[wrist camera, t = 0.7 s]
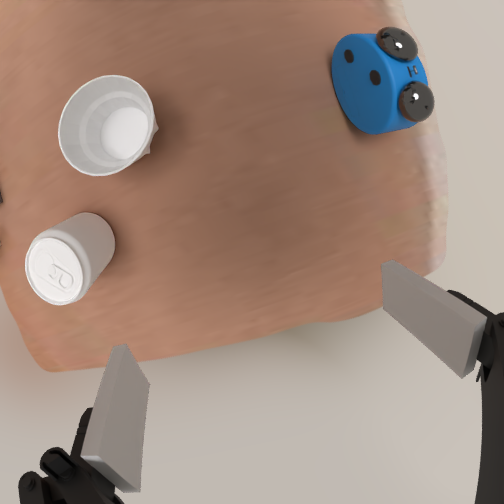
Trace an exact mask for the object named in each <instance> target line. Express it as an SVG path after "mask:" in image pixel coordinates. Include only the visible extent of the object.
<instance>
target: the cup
mask: <svg viewBox="0 0 504 504" xmlns="http://www.w3.org/2000/svg"><path fill="white" fill-rule="evenodd" d="M158 129H159V128H158V126H157V123H156V119H155V115H154V110H153V106H152V102H151V100H150V98H149V96H148V94H147V92H146V91H145V90H144V89H143V87H142V86H141V85H140V84H139V83H137V82H136V81H134V80H132V79H130V78H128V77H124V76H119V75H107V76H101V77H99V78H96V79H93V80H91V81H89V82H88V83H86V84H84V85H83V86H81V87H80V88H79V89H78V90H77V91H76V92H75V93H74V94H73V95H72V96H71V97H70V99H69V101H68V102H67V104H66V105H65V107H64V109H63V112H62V115H61V118H60V121H59V129H58V137H59V144H60V148H61V150H62V153H63V155H64V157H65V158H66V160H67V161H68V162H69V163H70V164H71V166H72V167H74V168H75V169H77V170H78V171H80V172H82V173H85V174H88V175H92V176H107V175H110V174H113V173H117V172H119V171H121V170H122V169H124V168H126V167H127V166H129V165H131V164H132V163H134V162H135V161H137V160H139V159H140V158H141V157H142V156H144V155H145V154H149V153H150V144H151V141H152V138H153V136H154V134H155V133H156V132H157V130H158Z"/></svg>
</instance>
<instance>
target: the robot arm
mask: <svg viewBox="0 0 504 504" xmlns="http://www.w3.org/2000/svg"><path fill="white" fill-rule="evenodd" d="M381 271H382V290H383V309H384V310H385V311H386V312H388V313H389V314H390V315H391V316H392V317H393V318H394V319H395V320H397V321H398V322H399V323H400V324H401V325H402V326H403V327H405V328H406V329H407V330H408V331H409V332H410V333H412V334H413V335H414V336H415V337H416V338H417V339H418V340H419V341H421V342H422V343H423V344H424V345H425V346H426V347H427V348H428V349H430V350H431V351H432V352H433V353H434V354H435V355H436V356H437V357H438V358H440V359H441V360H442V361H443V362H444V363H445V364H446V365H447V366H448V367H450V368H451V369H452V370H453V371H454V372H455V373H456V374H457V375H458V376H459V377H460V378H461V379H462V378H463V377H465V376H466V375H468V374H469V373H470V372H472V371H473V370H474V367H475V363H476V360H478V361H480V362H481V366H480V369H479V372H478V375H477V378H476V382H478V381H479V378H480V376H481V391H482V445H481V461H480V470H479V479H478V486H477V493H476V499H475V504H504V312H503V313H499V314H497V315H494V314H493V313H492V312H490V311H488V310H487V309H485V308H484V307H482V306H480V305H479V304H477V303H476V302H473V300H471V299H469V298H467V297H466V296H464V295H463V294H461V293H459V292H456V291H452V290H448V291H445V290H443V289H442V288H440V287H438V286H437V285H435V284H434V283H432V282H430V281H428V280H427V279H425V278H424V277H422V276H420V275H419V274H417V273H415V272H414V271H412V270H410V269H408V268H407V267H405V266H403V265H401V264H400V263H398V262H396V261H394V260H390V261H388V262H385V263H382V264H381ZM149 386H150V384H149V382H148V380H147V379H146V377H145V376H144V374H143V372H142V370H141V369H140V367H139V365H138V364H137V362H136V360H135V358H134V357H133V355H132V353H131V351H130V349H129V348H128V346H127V344H123V345H118V346H114V347H113V349H112V351H111V354H110V357H109V360H108V363H107V366H106V369H105V372H104V375H103V378H102V381H101V384H100V387H99V390H98V394H97V397H96V400H95V403H94V407H93V408H87V409H86V411H85V412H84V414H83V415H82V417H81V419H80V423H79V428H78V429H77V435H76V436H75V440H74V444H73V447H72V451H71V455H70V456H69V455H68V454H67V453H66V452H65V451H64V450H63V449H62V448H59V447H55V448H51V449H49V450H47V451H46V452H45V453H44V454H43V456H42V457H41V460H40V469H41V470H42V471H44V472H45V473H46V474H47V475H48V477H44V478H42V477H40V476H39V475H38V474H37V473H36V472H33V471H30V472H27V473H25V474H24V475H23V476H22V477H21V478H20V480H19V485H18V488H19V497H20V504H124V503H123V501H122V500H121V499H120V498H119V497H118V496H117V495H116V494H115V493H114V492H115V486H116V487H117V488H118V489H119V490H121V491H122V492H140V486H141V467H142V453H143V440H144V429H145V419H146V411H147V410H146V409H147V401H148V393H149Z"/></svg>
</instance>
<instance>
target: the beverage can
mask: <svg viewBox="0 0 504 504" xmlns="http://www.w3.org/2000/svg"><path fill="white" fill-rule="evenodd" d="M114 251H115V239H114V235H113V232H112V230H111V228H110V226H109V225H108V223H107V222H106V221H105V220H104V219H103V218H101V217H100V216H98V215H96V214H93V213H88V212H84V213H79V214H77V215H75V216H73V217H71V218H69V219H67V220H65V221H63V222H61V223H59V224H57V225H55V226H53V227H51V228H49V229H47V230H45V231H44V232H42V233H40V234H39V235H38V236H37V237H36V238H35V239H34V240H33V242H32V243H31V245H30V248H29V250H28V252H27V255H26V260H25V270H26V275H27V278H28V281H29V283H30V285H31V287H32V288H33V290H34V291H35V292H36V294H37V295H38V296H39V297H41V298H42V299H43V300H45V301H47V302H49V303H51V304H54V305H65V304H69V303H73V302H75V301H77V300H79V299H80V298H82V297H83V296H84V295H85V294H86V292H87V291H88V290H89V288H90V287H91V286H92V284H93V283H94V282H95V280H96V279H97V278H98V276H99V275H100V274H101V272H102V271H103V270H104V269H105V267H106V266H107V265H108V263H109V262H110V261H111V259H112V257H113V254H114Z"/></svg>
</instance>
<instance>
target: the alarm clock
mask: <svg viewBox="0 0 504 504" xmlns="http://www.w3.org/2000/svg"><path fill="white" fill-rule="evenodd" d="M417 54H418V48H417V44H416V42H415V41H414V39H413V38H412V37H411V36H410V35H409V34H408V33H407V32H405V31H404V30H402V29H399V28H396V27H385V28H382V29H381V30H379V31H378V33H377V34H350V35H347V36H345V37H343V38H342V39H341V40H340V41H339V42H338V43H337V45H336V47H335V49H334V52H333V57H332V78H333V84H334V88H335V91H336V95H337V97H338V100H339V102H340V105H341V107H342V109H343V110H344V112H345V114H346V115H347V117H348V118H349V119H350V121H351V122H352V123H353V124H354V125H355V126H356V127H357V128H358V129H360V130H361V131H363V132H365V133H368V134H381V133H386V132H391V131H396V130H401V129H406V128H410V127H412V126H414V125H415V124H417V123H418V122H421V121H424V120H426V119H427V118H428V117H429V116H430V115H431V113H432V111H433V109H434V96H433V93H432V91H431V90H430V88H429V87H428V82H427V77H426V73H425V70H424V68H423V65H422V63H421V61H420V59H419V57H418V56H417Z"/></svg>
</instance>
